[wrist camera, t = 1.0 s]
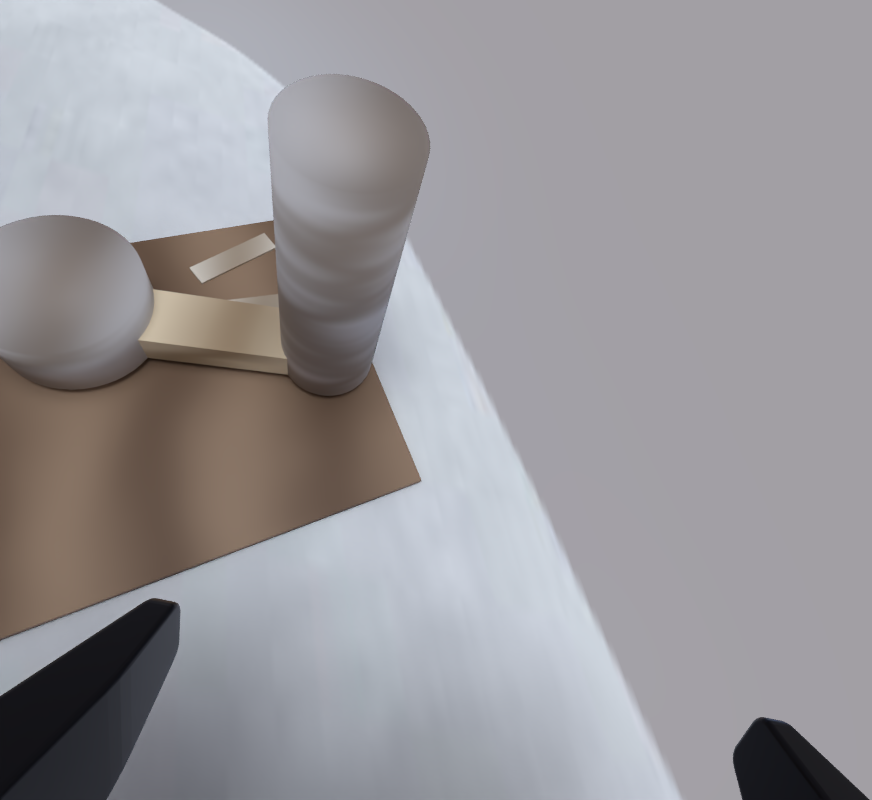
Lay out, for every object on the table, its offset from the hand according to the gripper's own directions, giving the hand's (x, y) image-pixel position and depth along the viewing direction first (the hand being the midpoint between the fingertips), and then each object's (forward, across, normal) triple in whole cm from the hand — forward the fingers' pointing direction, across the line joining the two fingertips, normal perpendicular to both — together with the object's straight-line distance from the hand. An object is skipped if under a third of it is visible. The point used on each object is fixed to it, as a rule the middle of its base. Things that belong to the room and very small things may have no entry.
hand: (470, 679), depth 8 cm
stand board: (+14, +12, +4) cm, 19 cm away
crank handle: (+16, +11, +2) cm, 19 cm away
